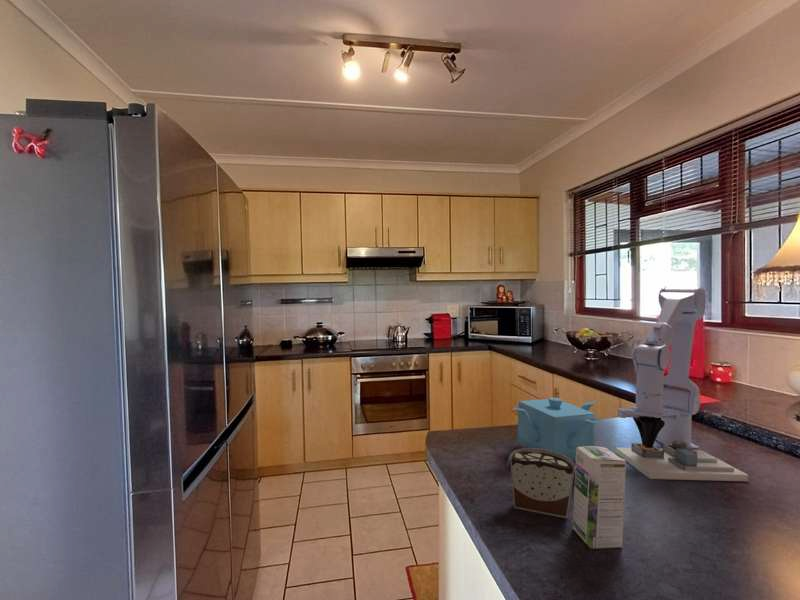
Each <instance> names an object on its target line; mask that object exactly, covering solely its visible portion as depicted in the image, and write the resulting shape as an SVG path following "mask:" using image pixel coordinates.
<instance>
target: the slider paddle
mask: <svg viewBox="0 0 800 600" xmlns="http://www.w3.org/2000/svg"><path fill="white" fill-rule="evenodd" d="M675 461H677V462H678V463H680V464H682V465H683V466H697V455H696V454H695V453H693V452H691V451H689V450H687V449H677V448H676V457H675Z"/></svg>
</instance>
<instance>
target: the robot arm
mask: <svg viewBox="0 0 800 600" xmlns="http://www.w3.org/2000/svg"><path fill="white" fill-rule="evenodd" d="M658 304H659V306H660V313H659V316H658V319H657V322H655V323H653V324H651V325H650V326H649V328H648V331H647V332H646V335H645V337H644V339H643V341H642V343H640V344H639V345H636V346H635V347H634V350H633V354H632V362H633V364H634V372H635V373H636V386H635V387H636V388H635V406H632V407H631V406H630V407H623V408H622V407H621V408H620V407H618V408H617V416H618V417H620V418H621V419H627V418H630V419H631V418H632V419H633V421H634V423H635V425H636V427H637V430H638V432H639V436H640V439H641V443H642V445H644V446H645V447H647V448H653V445H654V444H655V442H656V441H657V442H660V443H661V444H662V445H663V444H672V441H673V440H677V441H682V442H685V443H687V447H688V448H689V449H694V450H699V449H700V448H699V447H700V446H697V445H696V444H694V443H692V442H691V441H692V439H691V438H692V415H696V414H697V413H698V412H699V410H700V406H701V396H700V393H701V390H700V388H699V386H698V385H697V383H694V381H692V380H691V378H689V376H690V368H691V359H692V352H693V351H692V350H693V343H694V342H693V341H694V334H695V328H696V324H697V321H698V320H701V319H703V318H704V315H705V312H706V304H707V295H706V290H705V289H704V288H703V286H697V287H696V286H694V287H692V286H689V287H688V286H687V287H686V286H683V287H681V286H679V287H678V286H677V287H675V286H663V287H661V288H660V290H659V292H658ZM667 368H668V371H667V374H666V375H665V370H666V369H667ZM654 446H655V445H654Z"/></svg>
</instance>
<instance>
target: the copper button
mask: <svg viewBox="0 0 800 600" xmlns="http://www.w3.org/2000/svg"><path fill="white" fill-rule="evenodd" d="M654 446H655V445H654ZM654 446H653V448H647V447H645V446H644V445H642V444H641V445H640V447H641V448H642V449H644V450H655V447H654Z"/></svg>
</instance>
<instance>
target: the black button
mask: <svg viewBox="0 0 800 600" xmlns="http://www.w3.org/2000/svg"><path fill="white" fill-rule="evenodd" d="M672 448H673V449H675V450H676V448H677V449H687V443H685V442H682V441H677V440H673V441H672Z"/></svg>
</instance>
